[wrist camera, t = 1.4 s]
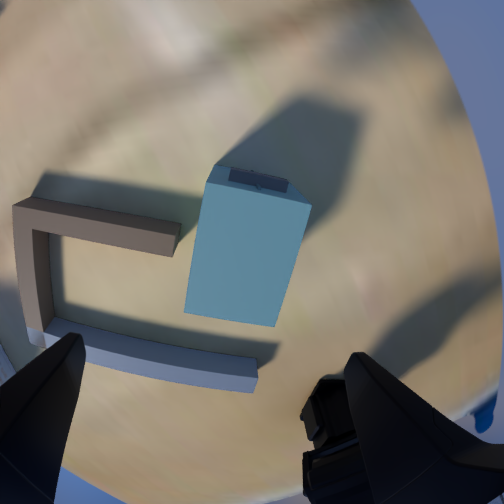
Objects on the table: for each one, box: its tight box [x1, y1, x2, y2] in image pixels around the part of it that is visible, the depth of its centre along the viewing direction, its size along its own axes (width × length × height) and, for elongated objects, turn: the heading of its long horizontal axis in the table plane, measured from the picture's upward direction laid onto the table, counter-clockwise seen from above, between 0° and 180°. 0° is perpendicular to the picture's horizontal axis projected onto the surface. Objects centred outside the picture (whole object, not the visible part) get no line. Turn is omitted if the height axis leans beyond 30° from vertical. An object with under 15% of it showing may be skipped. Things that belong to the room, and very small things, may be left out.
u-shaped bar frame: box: [12, 197, 258, 393], centre depth 22 cm, size 21×13×2 cm, turn 77°
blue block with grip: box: [184, 165, 312, 327], centre depth 18 cm, size 5×8×7 cm, turn 167°
